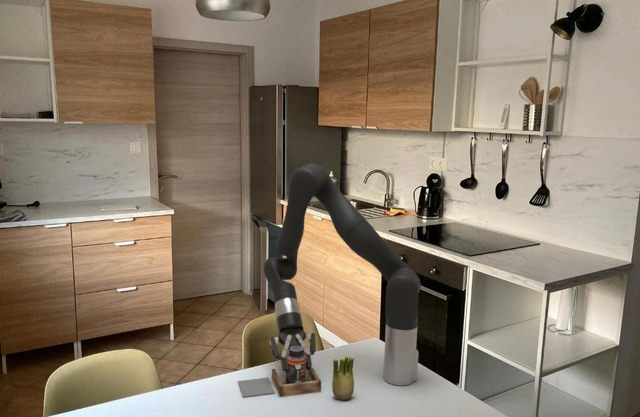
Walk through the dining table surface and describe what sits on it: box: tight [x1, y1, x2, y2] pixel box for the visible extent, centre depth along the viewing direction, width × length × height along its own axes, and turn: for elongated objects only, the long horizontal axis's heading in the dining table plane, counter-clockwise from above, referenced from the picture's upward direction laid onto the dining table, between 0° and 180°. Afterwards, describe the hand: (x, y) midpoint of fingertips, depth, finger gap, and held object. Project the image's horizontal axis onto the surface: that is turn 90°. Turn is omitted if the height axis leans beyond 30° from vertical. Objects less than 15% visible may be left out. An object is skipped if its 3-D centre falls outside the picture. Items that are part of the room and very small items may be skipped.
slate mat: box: [237, 377, 276, 399], centre depth 153 cm, size 9×9×1 cm
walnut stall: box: [271, 365, 322, 398], centre depth 155 cm, size 12×11×3 cm
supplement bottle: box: [285, 346, 307, 384], centre depth 154 cm, size 6×6×11 cm
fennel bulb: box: [331, 355, 355, 401], centre depth 148 cm, size 6×5×12 cm
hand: (297, 370), depth 153 cm, fingers closed on supplement bottle, 6 cm apart
